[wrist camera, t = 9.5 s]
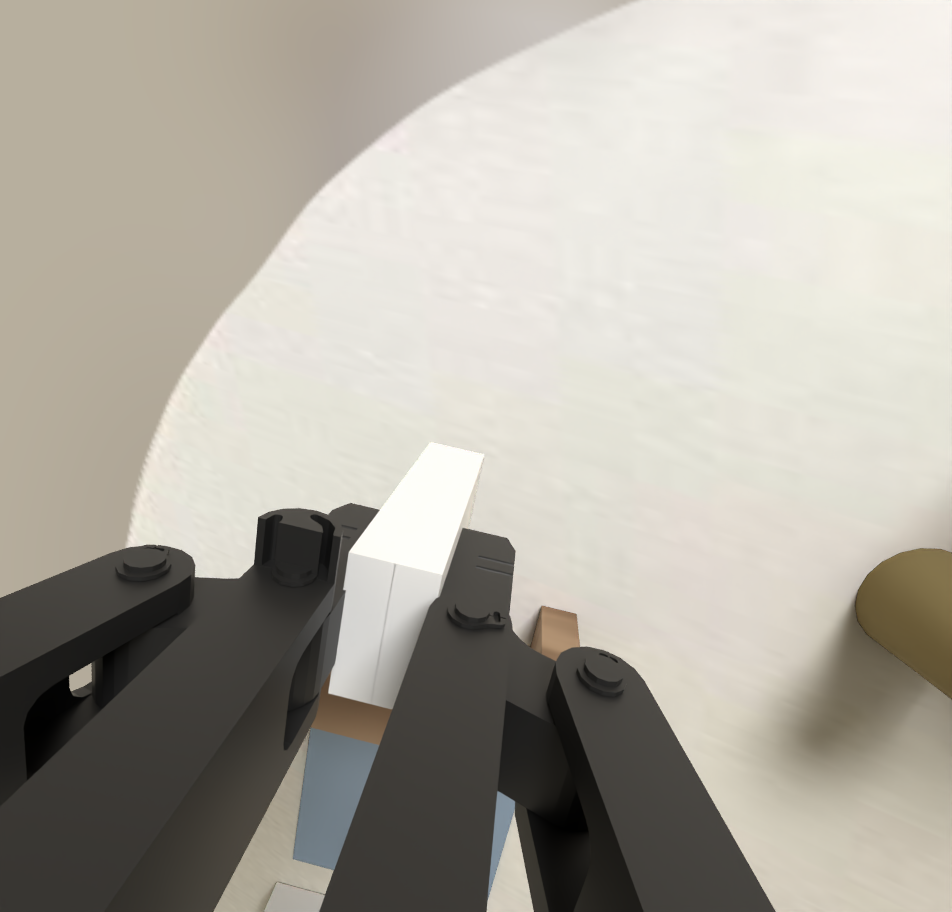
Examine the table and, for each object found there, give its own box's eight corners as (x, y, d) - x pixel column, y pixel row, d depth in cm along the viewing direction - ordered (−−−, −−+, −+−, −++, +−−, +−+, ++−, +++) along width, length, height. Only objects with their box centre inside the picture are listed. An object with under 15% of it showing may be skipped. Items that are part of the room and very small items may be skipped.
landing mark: (484, 907, 39) (484, 910, 38) (294, 856, 39) (292, 859, 39) (530, 754, 34) (529, 757, 34) (315, 700, 35) (314, 702, 35)
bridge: (563, 657, 32) (571, 794, 23) (325, 599, 33) (246, 710, 24) (576, 614, 31) (589, 740, 22) (331, 554, 32) (251, 654, 23)
